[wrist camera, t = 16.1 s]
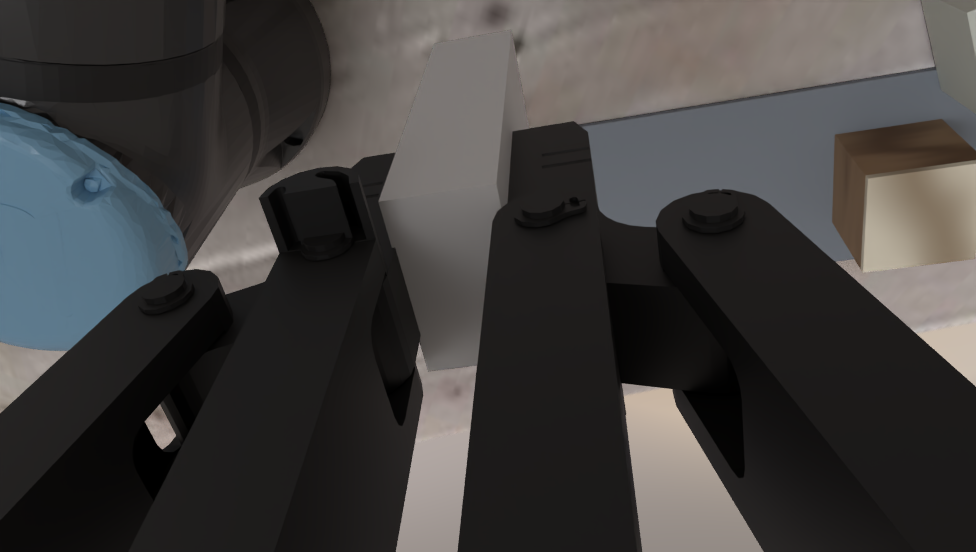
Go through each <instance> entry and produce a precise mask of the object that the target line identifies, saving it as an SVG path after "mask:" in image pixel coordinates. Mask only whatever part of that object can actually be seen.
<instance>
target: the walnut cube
mask: <svg viewBox="0 0 976 552" xmlns="http://www.w3.org/2000/svg"><path fill="white" fill-rule="evenodd" d="M832 223H833V225H834V226H835V228H836V230H837V231H838V233H839V235H840V236H841V238H842V239H843V241H844V243H845V244H846V246H847V248H848V249H849V251H850V253H851V254H852V256H853V257H854V259H855V261H856V262H857V264H858V266H859V267H860V269H861V271H862V272H863V273H865V272H874V271H882V270H890V269H898V268H906V267H914V266H922V265H930V264H938V263H946V262H954V261H962V260H970V259H975V253H976V150H975V149H973V148H972V147H971V146H970V145H969V144H968V143H967V142H966V141H965V140H964V139H963V138H962V137H961V136H960V135H958V134H957V133H956V132H955V131H954V130H953V129H952V128H951V127H950V126H949V125H948V124H947V123H946V122H944V121H943V120H942V119H937V120H930V121H924V122H917V123H910V124H903V125H896V126H890V127H883V128H876V129H869V130H863V131H856V132H849V133H842V134H835V142H834V174H833V207H832Z"/></svg>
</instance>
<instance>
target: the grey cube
mask: <svg viewBox="0 0 976 552" xmlns="http://www.w3.org/2000/svg"><path fill="white" fill-rule="evenodd" d="M921 3H922V7H923V12H924V16H925V20H926V25H927V29H928V34H929V38H930V43H931V47H932V52H933V56H934V61H935V65H936V70H937V74H938V79H939V83H940V88H941V90H942V91H943V92H945V93H946V94H948V95H949V96H951V97H952V98H953V99H955V100H956V101H958V102H959V103H961V104H962V105H963V106H965V107H966V108H968V109H969V110H971V111H972V112H974V113H975V114H976V0H921Z"/></svg>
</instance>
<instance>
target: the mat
mask: <svg viewBox="0 0 976 552" xmlns="http://www.w3.org/2000/svg"><path fill="white" fill-rule="evenodd" d="M937 119H942V120H943V121H944V122H946V123H947V124H948V125H949V126H950V127H951V128H952V129H953V130H954V131H955V132H956V133H957V134H958V135H960V136H961V137H962V138H963V139H964V140H965V141H966V142H967V143H968V144H969V145H970V146H971V147H972V148H973V149H975V150H976V114H975V113H974V112H972V111H971V110H969V109H968V108H966V107H965V106H963V105H962V104H961V103H959V102H958V101H956V100H955V99H953V98H952V97H951V96H949V95H948V94H946V93H945V92H943V91H942V90H941V88H940V83H939V79H938V74H937V70H936V67H934V68H928V69H922V70H916V71H910V72H903V73H897V74H891V75H885V76H879V77H872V78H866V79H860V80H854V81H848V82H842V83H835V84H829V85H823V86H817V87H811V88H804V89H798V90H792V91H786V92H780V93H773V94H767V95H761V96H755V97H749V98H742V99H736V100H730V101H724V102H718V103H712V104H705V105H699V106H693V107H687V108H681V109H674V110H668V111H662V112H656V113H650V114H643V115H637V116H631V117H625V118H619V119H613V120H606V121H600V122H594V123H588V124H582V125H579V126H580V127H582V128H583V129H585V130H586V131H587V132H588V136H589V143H590V150H591V157H592V164H593V171H594V178H595V185H596V193H597V200H598V207H599V210H600V211H601V212H602V213H603V214H604V215H605V216H606V217H608V218H610V219H612V220H614V221H616V222H619V223H623V224H627V225H633V226H643V227H656V219H657V217H658V215H659V213H660V211H661V210H662V209H663V208H664V207H666V206H667V205H668V204H670V203H671V202H672V201H674V200H677V199H679V198H682V197H685V196H687V195H690V194H694V193H700V192H704V191H706V190H711V189H719V190H722V189H730V190H735V191H739V192H744V193H748V194H753V195H756V196H757V197H759V198H761V199H763V200H765V201H766V202H768V203H769V204H771V205H772V206H773V207H774V208H775V209H776V210H777V211H778V212H780V213H781V214H782V215H783V216H784V217H785V218H786V219H787V220H789V221H790V222H791V223H792V224H793V225H794V226H795V227H796V228H798V229H799V230H800V231H801V232H802V233H803V234H804V235H805V236H807V237H808V238H809V239H810V240H811V241H812V242H813V243H814V244H816V245H817V246H818V247H819V248H820V249H821V250H822V251H823V252H825V253H826V254H827V255H828V256H829V257H830V258H831V259H832V260H834V261H835V262H836V261H843V260H851V259H854V257H853V256H852V254H851V253H850V251H849V249H848V248H847V246H846V244H845V243H844V241H843V239H842V238H841V236H840V235H839V233H838V231H837V230H836V228H835V226H834V225H833V223H832V207H833V174H834V142H835V134H842V133H849V132H856V131H863V130H869V129H876V128H883V127H890V126H896V125H903V124H910V123H917V122H924V121H930V120H937Z"/></svg>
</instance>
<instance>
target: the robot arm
mask: <svg viewBox="0 0 976 552" xmlns="http://www.w3.org/2000/svg"><path fill="white" fill-rule="evenodd" d="M330 76H331V70H330V57H329V51H328V45H327V41H326V38H325V34H324V31H323V28H322V25H321V23H320V21H319V18H318V16H317V14H316V12H315V10H314V8H313V6H312V4H311V3H310V1H309V0H0V342H2V343H6V344H9V345H14V346H19V347H24V348H30V349H38V350H50V351H68V352H67V353H65V354H64V355H63V356H62V357H61V358H60V359H59V360H58V361H57V362H56V363H55V364H53V365H52V366H51V367H50V368H49V369H48V370H47V371H46V372H45V373H44V374H43V375H42V376H40V377H39V378H38V379H37V380H36V381H35V382H34V383H33V384H32V385H31V386H30V387H29V388H27V389H26V390H25V391H24V392H23V393H22V394H21V395H20V396H19V397H18V398H17V399H16V400H14V401H13V402H12V403H11V404H10V405H9V406H8V407H7V408H6V409H5V410H4V411H2V412H1V413H0V552H396V547H397V541H398V535H399V530H400V523H401V518H402V512H403V507H404V501H405V495H406V490H407V484H408V478H409V473H410V467H411V461H412V455H413V450H414V444H415V438H416V433H417V427H418V421H419V416H420V410H421V404H422V398H423V389H422V383H421V379H420V376H419V373H418V369H417V366H416V363H415V361H416V356H417V351H418V346H419V342H420V345H421V349H422V352H423V355H424V359H425V362H426V366H427V369H428V371H436V370H444V369H453V368H461V367H469V366H477V372H476V382H475V391H474V401H473V410H472V420H471V429H470V439H469V448H468V458H467V468H466V477H465V487H464V496H463V505H462V516H461V525H460V535H459V543H458V552H642V546H641V538H640V530H639V522H638V514H637V506H636V498H635V489H634V481H633V473H632V466H631V457H630V449H629V441H628V432H627V424H626V416H625V415H626V410H625V404H624V396H623V389H622V383H625V384H634V385H643V386H652V387H660V388H669V389H673V394H674V398H675V402H676V406H677V408H678V409H679V411H680V413H681V414H682V416H683V418H684V419H685V421H686V423H687V424H688V426H689V428H690V429H691V431H692V433H693V434H694V436H695V438H696V439H697V441H698V443H699V444H700V446H701V448H702V449H703V451H704V453H705V454H706V456H707V457H708V459H709V461H710V463H711V464H712V466H713V468H714V469H715V471H716V473H717V474H718V476H719V478H720V479H721V481H722V483H723V484H724V486H725V488H726V489H727V491H728V493H729V494H730V496H731V498H732V500H733V501H734V503H735V505H736V506H737V508H738V510H739V511H740V513H741V515H742V516H743V518H744V519H745V521H746V523H747V525H748V526H749V528H750V530H751V531H752V533H753V535H754V536H755V538H756V540H757V541H758V543H759V545H760V546H761V548H762V549H763V551H764V552H976V387H975V386H974V385H973V384H972V383H971V382H970V381H969V380H967V379H966V378H965V377H964V376H963V375H962V374H961V373H960V372H958V371H957V370H956V369H955V368H954V367H953V366H952V365H951V364H950V363H948V362H947V361H946V360H945V359H944V358H943V357H942V356H941V355H939V354H938V353H937V352H936V351H935V350H934V349H933V348H932V347H930V346H929V345H928V344H927V343H926V342H925V341H924V340H922V339H921V338H920V337H919V336H918V335H917V334H916V333H915V332H914V331H912V330H911V329H910V328H909V327H908V326H907V325H906V324H905V323H903V322H902V321H901V320H900V319H899V318H898V317H897V316H896V315H894V314H893V313H892V312H891V311H890V310H889V309H888V308H887V307H885V306H884V305H883V304H882V303H881V302H880V301H879V300H878V299H876V298H875V297H874V296H873V295H872V294H871V293H870V292H869V291H867V290H866V289H865V288H864V287H863V286H862V285H861V284H860V283H858V282H857V281H856V280H855V279H854V278H853V277H852V276H850V275H849V274H848V273H847V272H846V271H845V270H844V269H843V268H841V267H840V266H839V265H838V264H837V263H836V262H835V261H834V260H832V259H831V258H830V257H829V256H828V255H827V254H826V253H825V252H823V251H822V250H821V249H820V248H819V247H818V246H817V245H816V244H814V243H813V242H812V241H811V240H810V239H809V238H808V237H807V236H805V235H804V234H803V233H802V232H801V231H800V230H799V229H798V228H796V227H795V226H794V225H793V224H792V223H791V222H790V221H789V220H787V219H786V218H785V217H784V216H783V215H782V214H781V213H780V212H778V211H777V210H776V209H775V208H774V207H773V206H772V205H771V204H769V203H768V202H766V201H765V200H763V199H761V198H759V197H757V196H756V195H753V194H748V193H744V192H739V191H735V190H730V189H722V190H719V189H711V190H706V191H704V192H700V193H694V194H690V195H687V196H685V197H682V198H679V199H677V200H674V201H672V202H671V203H670V204H668V205H667V206H666V207H664V208H663V209H662V210H661V211H660V213H659V215H658V217H657V219H656V227H643V226H633V225H627V224H623V223H619V222H616V221H614V220H612V219H610V218H608V217H606V216H605V215H604V214H603V213H602V212H601V211H600V210H599V207H598V200H597V193H596V185H595V178H594V171H593V164H592V157H591V150H590V143H589V136H588V132H587V131H586V130H585V129H583V128H582V127H580V126H579V125H578V124H576V123H575V122H574V121H573V122H567V123H561V124H555V125H548V126H542V127H536V128H530V129H529V124H528V119H527V113H526V108H525V102H524V96H523V91H522V85H521V80H520V74H519V68H518V63H517V57H516V52H515V46H514V40H513V35H512V30H507V31H501V32H495V33H490V34H484V35H479V36H473V37H468V38H462V39H457V40H451V41H445V42H440V43H434V46H433V48H432V51H431V54H430V57H429V60H428V63H427V65H426V68H425V71H424V74H423V77H422V80H421V82H420V85H419V88H418V91H417V94H416V97H415V99H414V102H413V105H412V108H411V111H410V114H409V116H408V119H407V122H406V125H405V128H404V131H403V133H402V136H401V139H400V142H399V145H398V148H397V150H396V153H390V154H384V155H378V156H372V157H365V158H363V159H361V160H360V161H359V162H358V163H357V164H356V165H354V166H353V167H352V168H344V167H338V166H336V167H323V168H317V169H313V170H308V171H304V172H300V173H298V174H295V175H293V176H290V177H288V178H285V179H283V180H281V181H279V182H278V183H276V184H274V185H273V186H271V187H270V188H268V189H267V190H266V191H265V192H264V193H263V194H262V195H261V196H260V197H259V200H260V203H261V205H262V208H263V211H264V213H265V216H266V219H267V221H268V224H269V227H270V229H271V232H272V235H273V237H274V240H275V242H276V245H277V248H278V250H279V255H278V257H277V259H276V261H275V263H274V265H273V267H272V269H271V271H270V273H269V275H268V277H267V279H266V281H265V282H263V283H260V284H258V285H255V286H251V287H248V288H245V289H242V290H239V291H236V292H233V293H229V294H226V295H225V292H224V290H223V288H222V285H221V283H220V281H219V278H218V277H217V276H216V275H215V274H213V273H212V272H211V271H206V270H199V269H194V270H186V269H187V267H188V266H189V264H190V263H191V261H192V259H193V258H194V256H195V255H196V253H197V252H198V250H199V249H200V247H201V246H202V244H203V243H204V241H205V240H206V238H207V237H208V235H209V234H210V232H211V230H212V229H213V227H214V226H215V224H216V223H217V221H218V220H219V218H220V217H221V215H222V214H223V212H224V211H225V209H226V208H227V206H228V205H229V203H230V201H231V200H232V198H233V197H234V195H235V194H236V192H237V191H238V189H240V188H243V187H245V186H248V185H251V184H253V183H256V182H258V181H261V180H263V179H265V178H267V177H269V176H271V175H273V174H275V173H276V172H278V171H279V170H281V169H282V168H283V167H284V166H286V165H287V164H288V163H289V162H291V161H292V160H293V159H294V158H295V157H296V156H297V155H298V154H299V152H300V151H301V150H302V149H303V148H304V146H305V145H306V143H307V142H308V140H309V139H310V137H311V135H312V134H313V132H314V130H315V128H316V127H317V125H318V123H319V121H320V119H321V117H322V115H323V112H324V110H325V107H326V103H327V100H328V95H329V89H330ZM185 270H186V271H185ZM159 404H160V405H161V407H162V409H163V411H164V413H165V414H166V416H167V418H168V420H169V422H170V424H171V426H172V428H173V430H174V432H175V434H176V437H175V438H174V439H173V441H172V442H171V443H170V444H169V445H168V446H167V447H165V448H164V449H163V450H162V449H161V448H160V447H159V446H158V445H157V444H156V442H155V440H154V438H153V436H152V435H151V433H150V431H149V429H148V427H147V425H146V423H145V422H144V421H145V420H146V419H147V418H148V417H149V416H150V415H151V413H152V412H153V411H154V410H155V409H156V408H157V407H158V405H159Z"/></svg>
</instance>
